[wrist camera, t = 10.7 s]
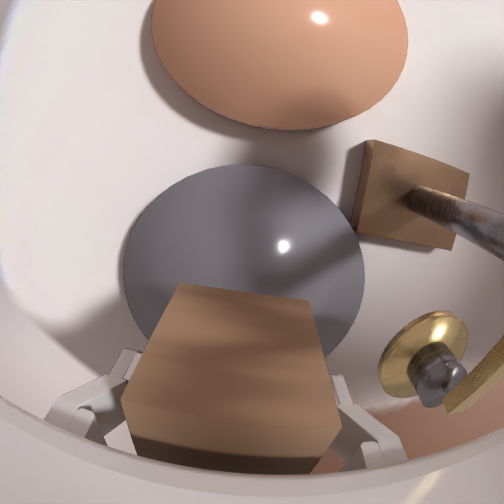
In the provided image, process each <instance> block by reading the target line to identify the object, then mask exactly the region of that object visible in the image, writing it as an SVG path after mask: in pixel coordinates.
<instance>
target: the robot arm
mask: <svg viewBox="0 0 504 504" xmlns="http://www.w3.org/2000/svg"><path fill="white" fill-rule="evenodd" d="M142 354H143V352H141V351H136V350H132V349H128V348H126V349H124V350H123V352H122V353H121V355H120V357H119V359H118V360H117V362H116V364H115V366H114V368H113V369H112V371H111V373H110V375H104V376H102V377H99V378H97V379H95V380H93V381H91V382H89V383H87V384H85V385H83V386H81V387H79V388H77V389H75V390H73V391H70V392H68V393H66V394H64V395H62V396H60V397H58V398H57V399H56V401H55V402H54V404H53V406H52V407H51V409H50V410H49V412H48V414H47V415H46V417H45V418H44V420H42V419H40V418H38V417H36V416H34V415H32V414H30V413H28V412H27V411H25V410H23V409H21V408H19V407H18V406H16V405H14V404H12V403H11V402H9V401H7V400H6V399H4V398H3V397H1V396H0V504H504V429H499V430H496V431H494V432H492V433H490V434H487V435H485V436H482V437H480V438H478V439H475V440H473V441H470V442H467V443H465V444H462V445H459V446H456V447H453V448H450V449H447V450H445V451H441V452H438V453H435V454H431V455H428V456H424V457H420V458H416V459H412V460H408V459H407V457H406V454H405V452H404V449H403V447H402V444H401V442H400V439H399V437H398V436H397V435H396V434H394V433H393V432H391V431H390V430H389V429H388V428H386V427H385V426H384V425H383V424H381V423H380V422H379V421H377V420H376V419H375V418H374V417H372V416H371V415H370V414H368V413H367V412H366V411H365V410H363V409H362V408H361V407H360V406H358V405H357V404H353V402H352V399H351V396H350V393H349V390H348V388H347V385H346V382H345V379H344V376H343V375H342V374H329V377H330V380H331V384H332V388H333V392H334V396H335V400H336V404H337V408H338V412H339V417H340V421H341V425H342V428H341V430H340V431H339V433H338V434H337V436H336V437H335V439H334V440H333V442H332V443H331V445H330V448H331V449H332V450H333V451H334V452H335V453H336V454H337V456H338V457H339V458H340V459H341V460H342V461H343V462H344V463H345V466H344V467H343V468H342V469H341V470H340V471H339V472H335V473H323V474H303V475H264V474H245V473H233V472H223V471H214V470H206V469H200V468H193V467H187V466H182V465H176V464H171V463H167V462H162V461H158V460H153V459H149V458H145V457H141V456H138V455H134V454H130V453H127V452H124V451H120V450H117V449H113V448H111V447H108V445H107V443H106V441H105V439H104V437H103V436H105V435H106V434H107V433H109V432H110V431H111V430H113V429H114V428H116V427H117V426H118V425H120V424H121V423H122V422H123V421H125V420H126V418H125V415H124V411H123V407H122V404H121V400H120V399H121V397H122V394H123V392H124V390H125V388H126V386H127V384H128V382H129V380H130V378H131V376H132V374H133V372H134V370H135V368H136V366H137V364H138V362H139V360H140V358H141V356H142Z"/></svg>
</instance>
